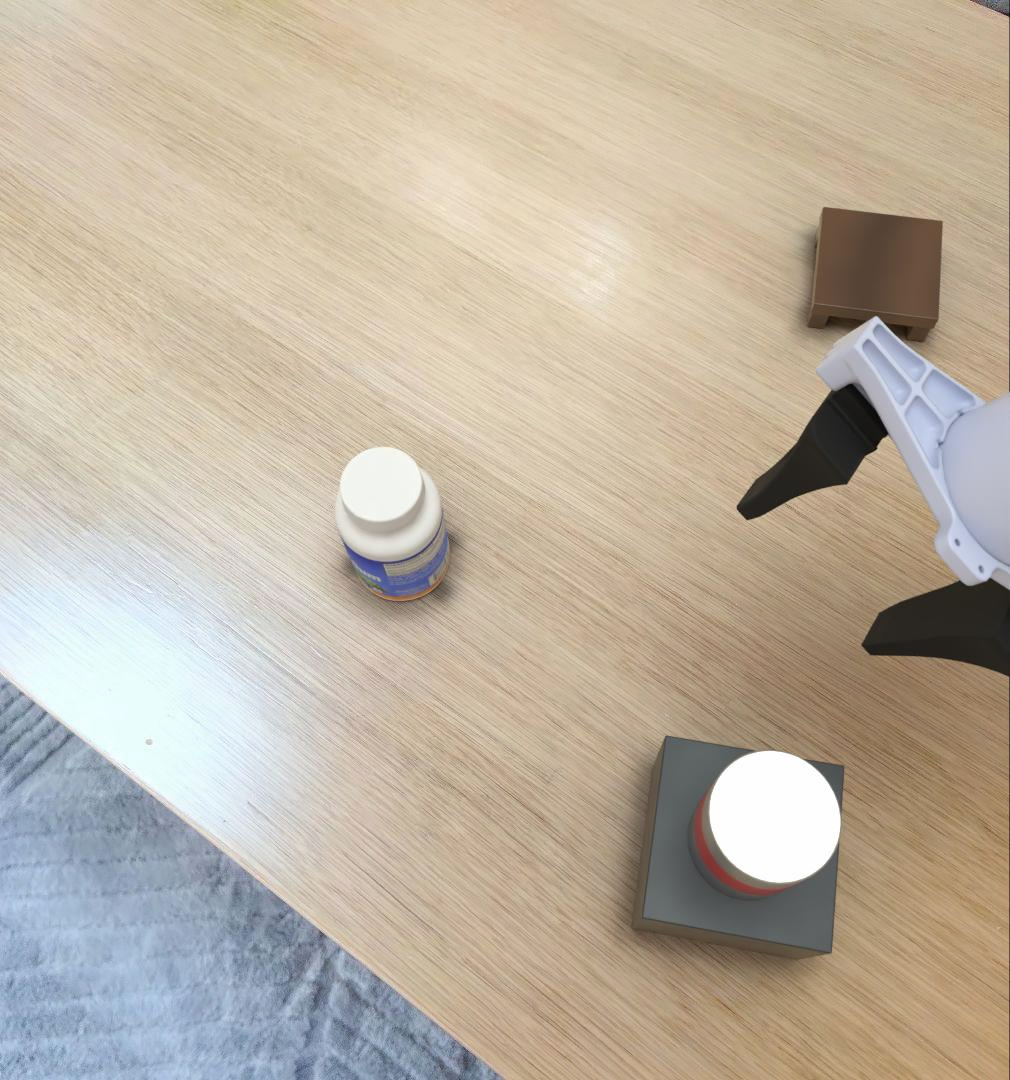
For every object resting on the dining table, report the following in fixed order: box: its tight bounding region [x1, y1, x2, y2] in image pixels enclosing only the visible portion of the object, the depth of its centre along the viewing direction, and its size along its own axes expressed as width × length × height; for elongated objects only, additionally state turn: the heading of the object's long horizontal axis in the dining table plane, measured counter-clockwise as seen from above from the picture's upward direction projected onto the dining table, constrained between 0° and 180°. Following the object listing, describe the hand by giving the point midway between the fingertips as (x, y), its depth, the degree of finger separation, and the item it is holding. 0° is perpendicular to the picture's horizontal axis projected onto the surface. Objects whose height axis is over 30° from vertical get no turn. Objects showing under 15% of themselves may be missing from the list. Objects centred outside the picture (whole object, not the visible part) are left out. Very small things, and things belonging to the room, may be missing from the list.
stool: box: [806, 206, 944, 343], centre depth 66 cm, size 7×7×2 cm
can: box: [688, 749, 843, 900], centre depth 46 cm, size 5×5×7 cm
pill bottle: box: [333, 446, 451, 602], centre depth 58 cm, size 5×5×10 cm
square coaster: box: [630, 735, 846, 961], centre depth 52 cm, size 8×8×7 cm
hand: (814, 567), depth 46 cm, fingers open, 7 cm apart
